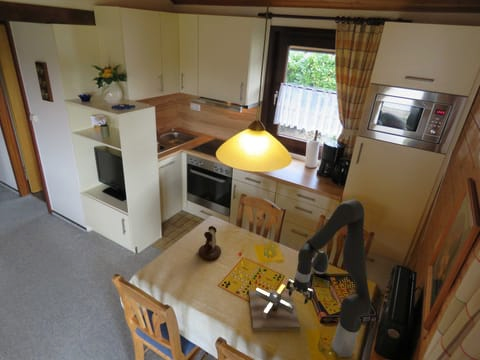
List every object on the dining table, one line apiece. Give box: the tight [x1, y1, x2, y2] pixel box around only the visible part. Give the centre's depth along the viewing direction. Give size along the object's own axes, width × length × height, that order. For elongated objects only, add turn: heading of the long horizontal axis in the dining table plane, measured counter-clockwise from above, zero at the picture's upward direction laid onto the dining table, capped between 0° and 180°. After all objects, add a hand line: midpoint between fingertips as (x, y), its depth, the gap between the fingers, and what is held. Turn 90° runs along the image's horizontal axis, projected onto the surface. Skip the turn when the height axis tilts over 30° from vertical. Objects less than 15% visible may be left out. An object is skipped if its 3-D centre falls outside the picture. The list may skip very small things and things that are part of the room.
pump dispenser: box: [311, 250, 330, 275], centre depth 190 cm, size 10×10×15 cm
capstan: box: [255, 284, 296, 318], centre depth 161 cm, size 22×22×8 cm
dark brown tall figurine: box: [198, 225, 222, 261], centre depth 197 cm, size 15×15×20 cm
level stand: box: [248, 289, 302, 331], centre depth 164 cm, size 24×24×2 cm
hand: (297, 299), depth 164 cm, fingers open, 8 cm apart
